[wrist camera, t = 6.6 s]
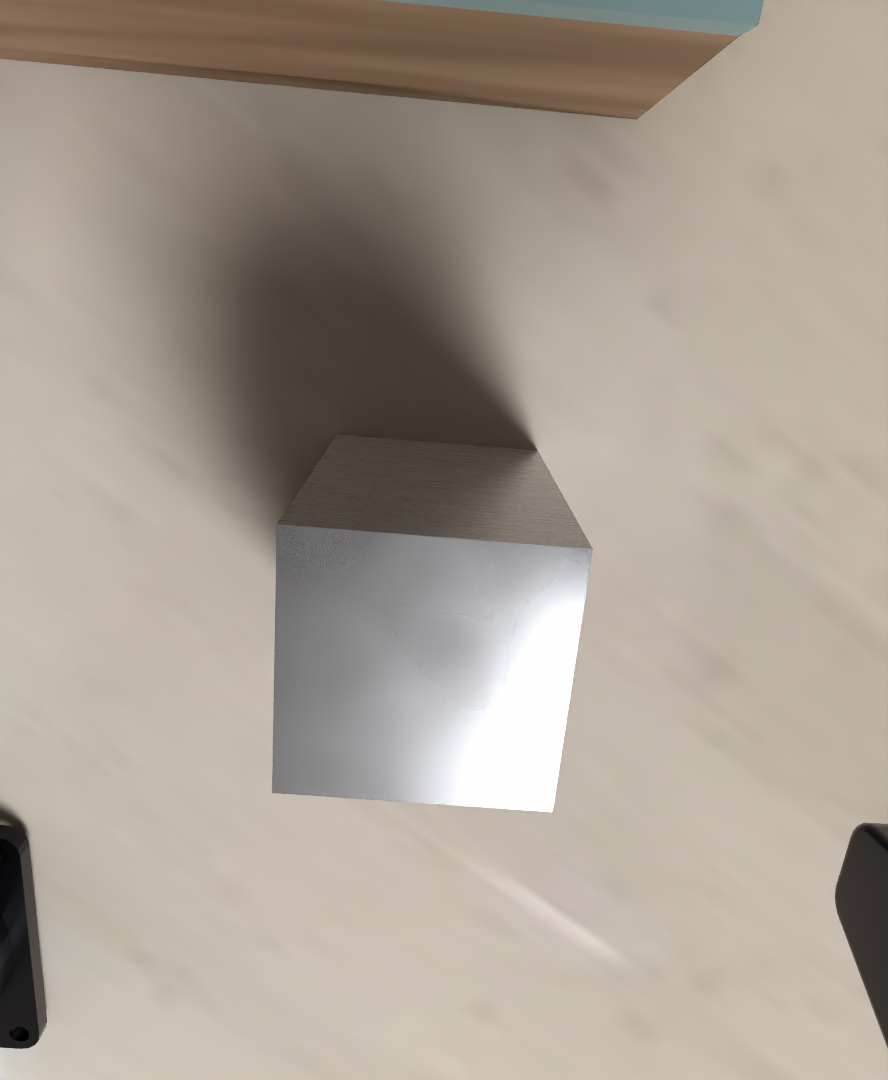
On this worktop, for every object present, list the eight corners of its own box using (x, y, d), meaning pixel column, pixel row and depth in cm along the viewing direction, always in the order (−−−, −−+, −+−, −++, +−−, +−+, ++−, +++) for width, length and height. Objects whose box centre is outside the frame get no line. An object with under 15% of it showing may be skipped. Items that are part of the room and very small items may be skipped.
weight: (514, 631, 17) (552, 812, 11) (329, 617, 17) (272, 792, 11) (537, 450, 16) (592, 549, 10) (337, 434, 16) (276, 524, 10)
